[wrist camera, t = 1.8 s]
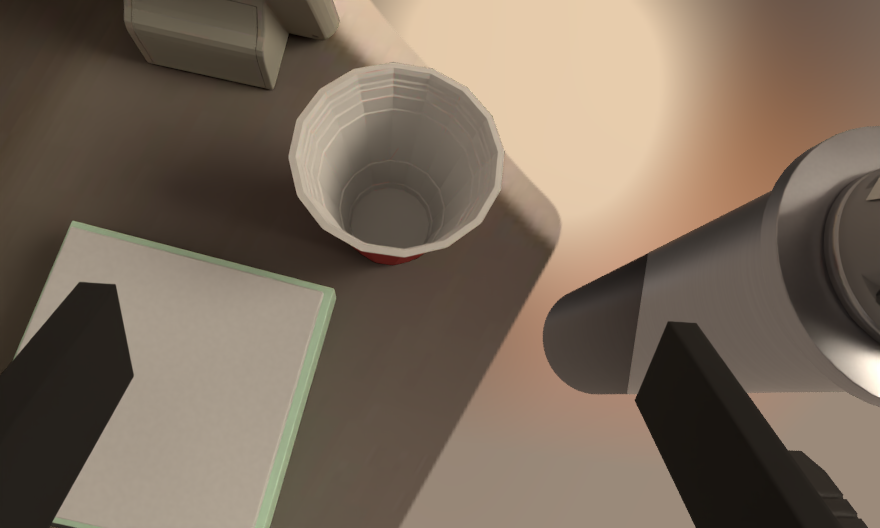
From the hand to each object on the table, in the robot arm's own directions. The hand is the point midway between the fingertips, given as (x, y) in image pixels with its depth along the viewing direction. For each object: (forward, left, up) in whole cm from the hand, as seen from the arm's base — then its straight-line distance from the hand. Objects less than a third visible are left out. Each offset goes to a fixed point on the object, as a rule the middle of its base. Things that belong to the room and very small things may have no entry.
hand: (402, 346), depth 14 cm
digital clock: (+17, -22, -24) cm, 37 cm away
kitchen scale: (+12, +3, -24) cm, 27 cm away
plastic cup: (+2, -11, -24) cm, 27 cm away
